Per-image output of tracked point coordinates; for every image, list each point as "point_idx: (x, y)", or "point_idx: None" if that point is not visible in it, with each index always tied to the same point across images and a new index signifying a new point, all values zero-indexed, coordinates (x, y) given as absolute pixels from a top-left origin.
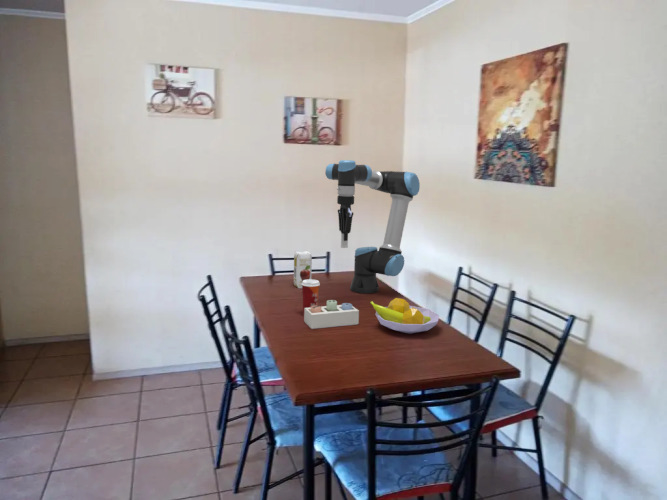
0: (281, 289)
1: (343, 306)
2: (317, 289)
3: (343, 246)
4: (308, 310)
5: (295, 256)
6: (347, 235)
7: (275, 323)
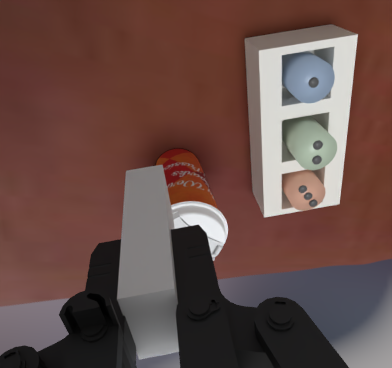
0: None
1: (319, 97)
2: (211, 201)
3: (171, 213)
4: (293, 208)
5: None
6: (215, 279)
7: (250, 255)
